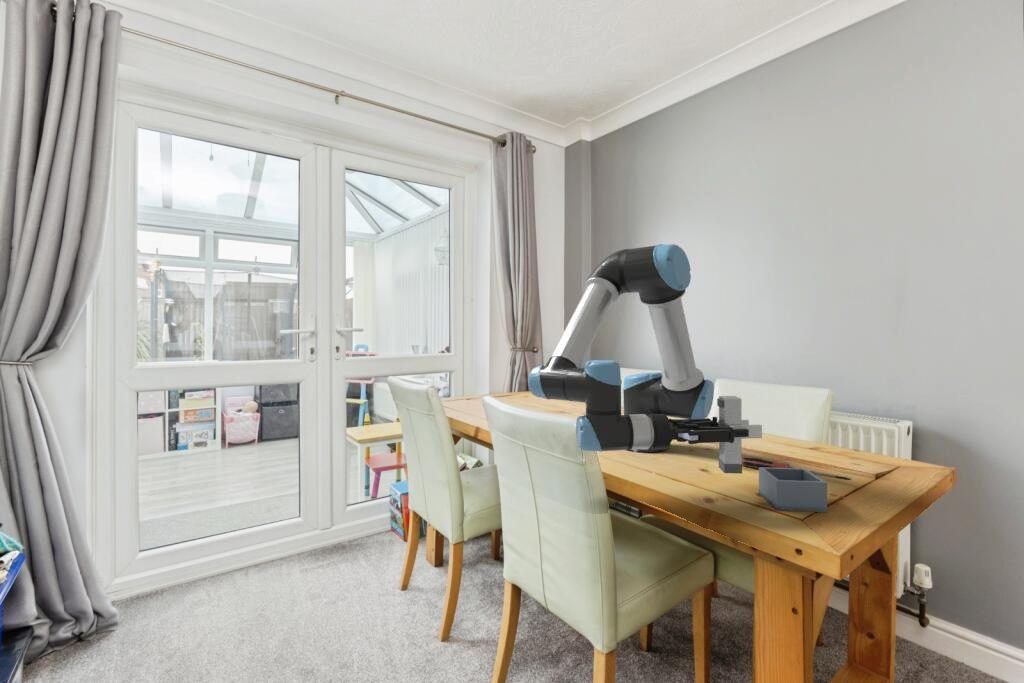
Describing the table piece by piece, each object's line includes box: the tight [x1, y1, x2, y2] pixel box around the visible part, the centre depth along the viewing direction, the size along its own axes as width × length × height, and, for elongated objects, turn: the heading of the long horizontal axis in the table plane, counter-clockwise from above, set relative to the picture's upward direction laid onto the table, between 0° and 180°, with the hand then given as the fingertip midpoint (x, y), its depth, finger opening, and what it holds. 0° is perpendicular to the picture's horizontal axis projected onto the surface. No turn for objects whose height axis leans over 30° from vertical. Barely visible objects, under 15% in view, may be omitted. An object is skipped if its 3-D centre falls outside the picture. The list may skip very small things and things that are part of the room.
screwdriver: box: [742, 456, 853, 481], centre depth 120 cm, size 25×3×3 cm, turn 48°
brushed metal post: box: [716, 395, 743, 474], centre depth 103 cm, size 4×4×16 cm
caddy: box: [758, 467, 828, 513], centre depth 101 cm, size 10×10×6 cm
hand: (754, 428), depth 103 cm, fingers closed on brushed metal post, 4 cm apart
